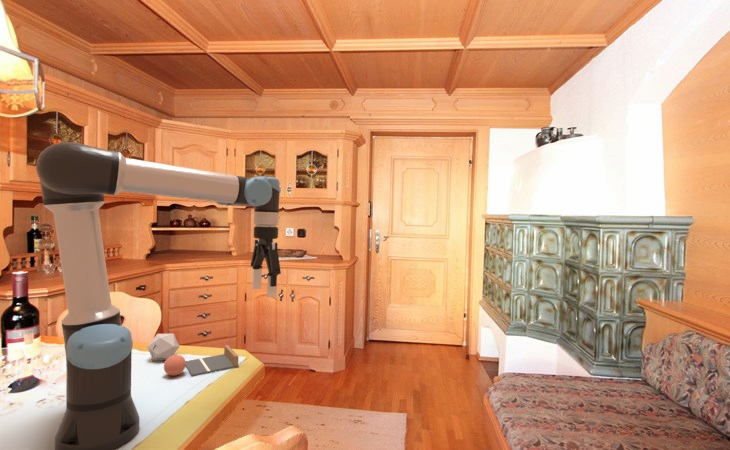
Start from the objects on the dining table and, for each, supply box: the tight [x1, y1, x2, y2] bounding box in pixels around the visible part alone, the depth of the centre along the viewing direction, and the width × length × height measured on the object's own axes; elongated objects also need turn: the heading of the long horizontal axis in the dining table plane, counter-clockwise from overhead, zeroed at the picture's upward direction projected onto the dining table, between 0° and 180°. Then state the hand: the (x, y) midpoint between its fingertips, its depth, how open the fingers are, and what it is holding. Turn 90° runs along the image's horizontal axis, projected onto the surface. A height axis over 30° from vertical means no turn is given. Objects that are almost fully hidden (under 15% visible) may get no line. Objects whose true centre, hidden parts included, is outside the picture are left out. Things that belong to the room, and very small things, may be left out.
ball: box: [163, 354, 187, 377], centre depth 115 cm, size 6×6×6 cm
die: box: [146, 333, 180, 361], centre depth 128 cm, size 8×9×10 cm
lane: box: [185, 344, 239, 377], centre depth 123 cm, size 14×12×4 cm
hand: (263, 292), depth 120 cm, fingers open, 13 cm apart
